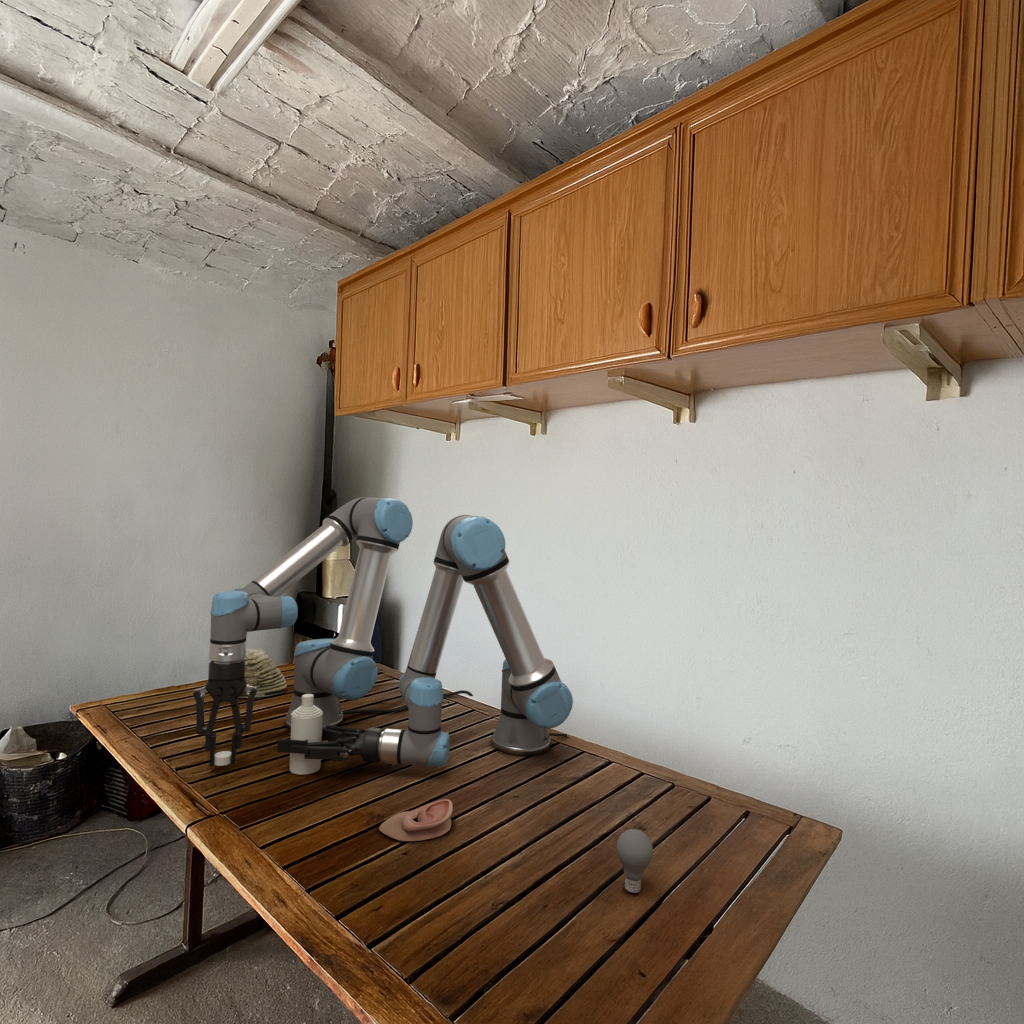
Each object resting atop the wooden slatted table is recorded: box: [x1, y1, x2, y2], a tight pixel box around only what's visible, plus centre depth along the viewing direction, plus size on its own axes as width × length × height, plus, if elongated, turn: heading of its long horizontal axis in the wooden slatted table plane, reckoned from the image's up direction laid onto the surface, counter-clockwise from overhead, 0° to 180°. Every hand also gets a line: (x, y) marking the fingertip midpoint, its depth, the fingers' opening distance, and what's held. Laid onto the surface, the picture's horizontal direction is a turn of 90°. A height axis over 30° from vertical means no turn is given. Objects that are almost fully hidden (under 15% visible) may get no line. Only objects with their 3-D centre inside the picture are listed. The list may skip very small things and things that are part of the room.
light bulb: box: [615, 828, 654, 894], centre depth 106 cm, size 6×6×10 cm
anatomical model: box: [378, 798, 454, 842], centre depth 123 cm, size 13×4×12 cm
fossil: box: [238, 646, 288, 699], centre depth 198 cm, size 9×18×15 cm, turn 132°
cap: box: [213, 750, 231, 767], centre depth 143 cm, size 4×4×2 cm
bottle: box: [289, 694, 323, 776], centre depth 147 cm, size 7×7×17 cm
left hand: (222, 762), depth 144 cm, fingers closed on cap, 4 cm apart
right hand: (285, 739), depth 147 cm, fingers closed on bottle, 7 cm apart
